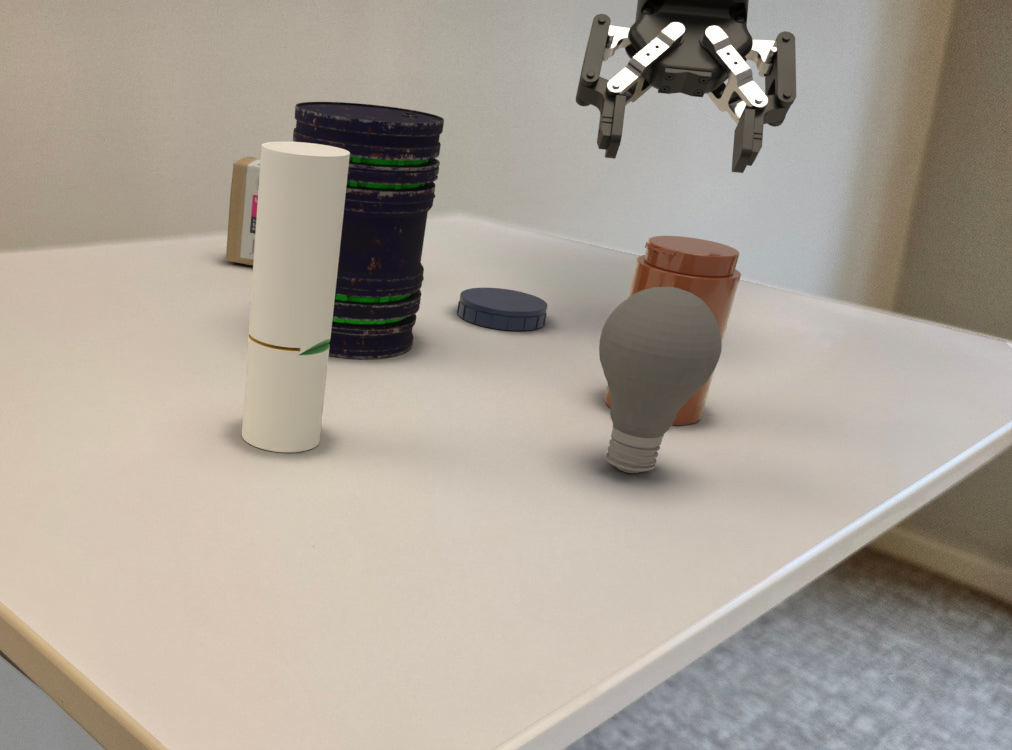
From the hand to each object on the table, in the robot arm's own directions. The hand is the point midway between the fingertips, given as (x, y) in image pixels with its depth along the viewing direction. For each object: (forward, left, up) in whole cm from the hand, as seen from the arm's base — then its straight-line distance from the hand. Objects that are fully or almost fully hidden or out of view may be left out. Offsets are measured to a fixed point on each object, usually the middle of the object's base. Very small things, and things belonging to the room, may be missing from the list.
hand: (676, 158), depth 73 cm
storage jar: (+18, -12, -14) cm, 25 cm away
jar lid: (+3, -10, -12) cm, 16 cm away
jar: (+9, +8, -14) cm, 18 cm away
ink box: (+9, -29, -14) cm, 33 cm away
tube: (+34, 0, -14) cm, 36 cm away
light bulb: (+20, +13, -14) cm, 27 cm away
